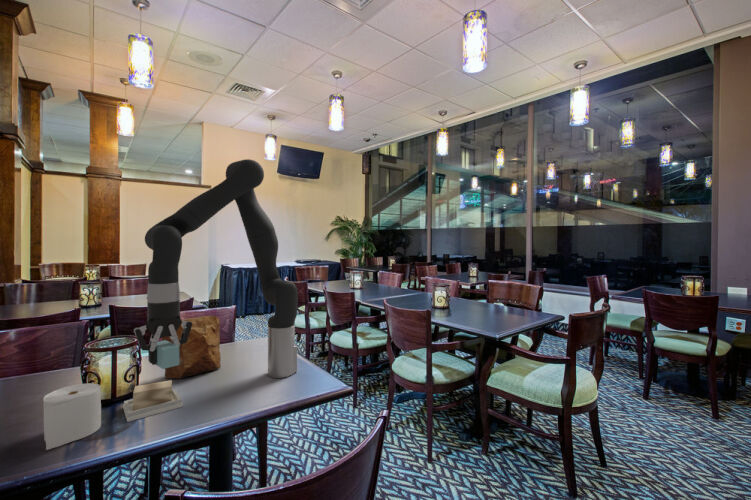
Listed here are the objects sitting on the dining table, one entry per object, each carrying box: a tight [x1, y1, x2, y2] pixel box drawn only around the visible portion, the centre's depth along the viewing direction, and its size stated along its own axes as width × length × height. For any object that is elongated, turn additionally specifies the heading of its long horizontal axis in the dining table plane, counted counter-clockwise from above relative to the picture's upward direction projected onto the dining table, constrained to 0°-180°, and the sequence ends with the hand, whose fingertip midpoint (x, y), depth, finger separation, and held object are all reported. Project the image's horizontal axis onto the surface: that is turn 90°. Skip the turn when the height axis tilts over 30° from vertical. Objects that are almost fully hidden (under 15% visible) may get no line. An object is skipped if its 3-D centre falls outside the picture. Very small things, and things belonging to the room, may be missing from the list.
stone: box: [161, 315, 222, 380], centre depth 123 cm, size 19×11×20 cm, turn 122°
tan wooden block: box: [132, 379, 173, 411], centre depth 98 cm, size 9×5×5 cm, turn 120°
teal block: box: [155, 340, 179, 370], centre depth 94 cm, size 4×9×5 cm, turn 51°
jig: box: [122, 388, 184, 423], centre depth 98 cm, size 13×10×2 cm
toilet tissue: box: [42, 382, 102, 451], centre depth 85 cm, size 11×12×10 cm
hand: (164, 361), depth 95 cm, fingers closed on teal block, 4 cm apart
